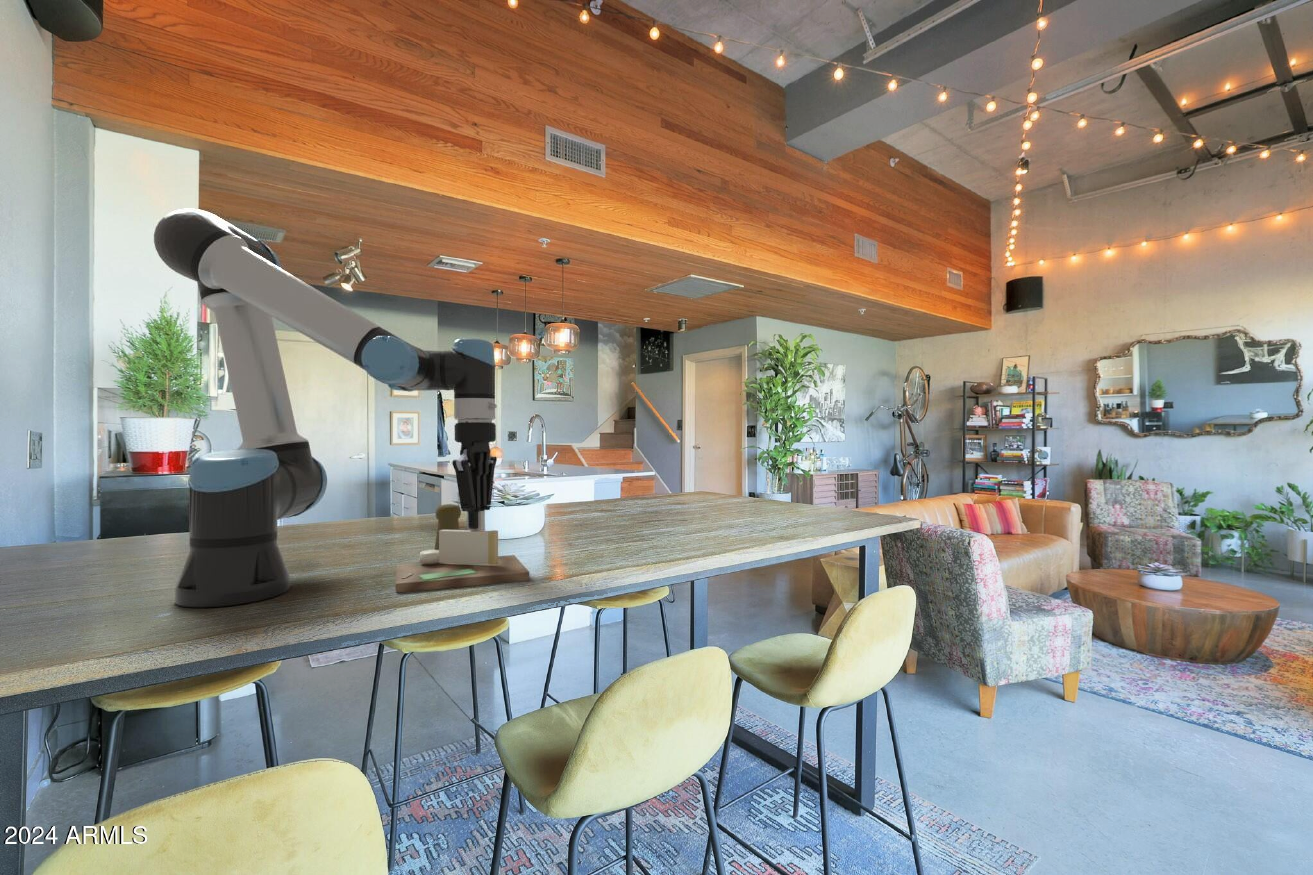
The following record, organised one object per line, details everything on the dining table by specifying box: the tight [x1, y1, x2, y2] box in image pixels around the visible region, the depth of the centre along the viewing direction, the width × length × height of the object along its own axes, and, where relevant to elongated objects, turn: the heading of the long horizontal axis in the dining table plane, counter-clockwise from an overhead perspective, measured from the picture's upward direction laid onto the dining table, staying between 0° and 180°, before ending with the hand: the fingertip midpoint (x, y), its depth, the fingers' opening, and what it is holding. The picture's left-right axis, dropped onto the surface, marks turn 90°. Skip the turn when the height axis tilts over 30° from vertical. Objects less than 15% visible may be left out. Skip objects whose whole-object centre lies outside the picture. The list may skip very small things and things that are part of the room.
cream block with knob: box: [419, 529, 499, 565], centre depth 111 cm, size 15×4×6 cm, turn 82°
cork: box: [433, 503, 462, 550], centre depth 127 cm, size 6×6×11 cm
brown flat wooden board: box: [395, 554, 530, 594], centre depth 109 cm, size 22×16×2 cm
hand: (476, 544), depth 112 cm, fingers closed
